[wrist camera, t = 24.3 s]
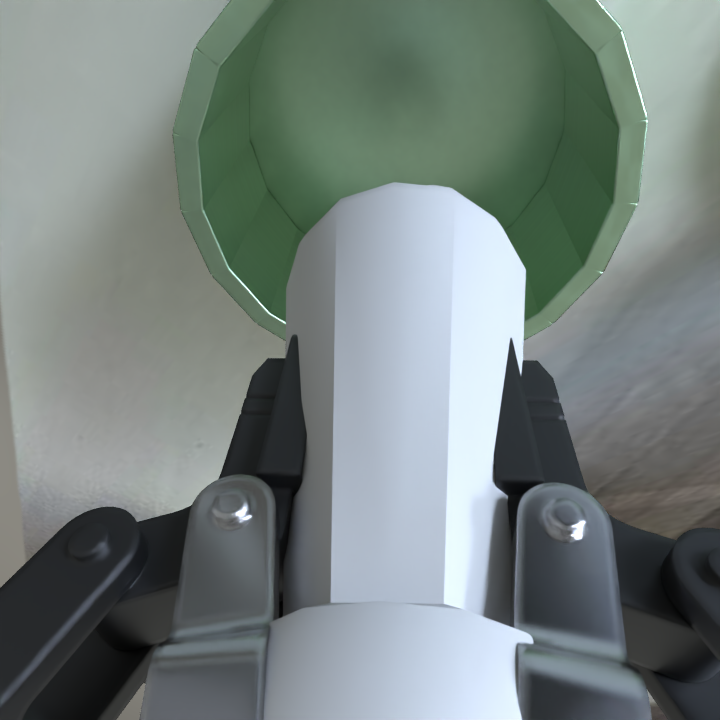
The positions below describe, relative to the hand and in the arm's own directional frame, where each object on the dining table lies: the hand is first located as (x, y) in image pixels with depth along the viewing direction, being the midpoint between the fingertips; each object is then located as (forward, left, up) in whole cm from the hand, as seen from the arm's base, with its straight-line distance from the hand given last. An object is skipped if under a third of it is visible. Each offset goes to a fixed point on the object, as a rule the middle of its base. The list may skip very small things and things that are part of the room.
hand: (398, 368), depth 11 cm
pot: (0, 0, -15) cm, 15 cm away
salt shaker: (0, 0, -5) cm, 5 cm away
